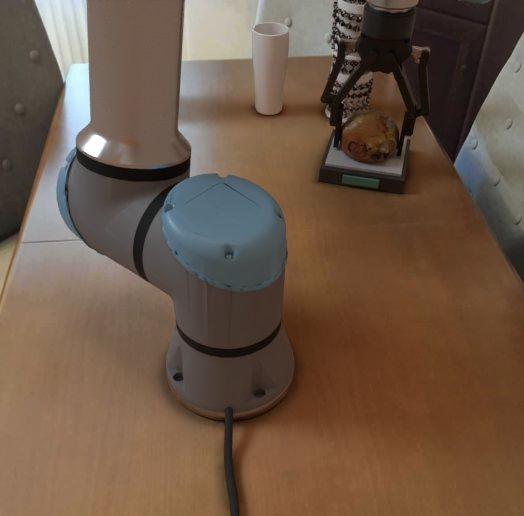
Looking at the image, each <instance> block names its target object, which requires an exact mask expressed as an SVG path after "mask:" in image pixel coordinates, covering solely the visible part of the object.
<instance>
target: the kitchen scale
mask: <svg viewBox="0 0 524 516" xmlns="http://www.w3.org/2000/svg"><path fill="white" fill-rule="evenodd" d="M334 135H335V128H333V129H332V131H331V134H330V137H329V139H328V143H327V145H326V149H325V151H324V154H323V157H322V160H321V163H320V167H319V173H318V182H320V183H326V184H333V185H338V186H346V187H353V188H359V189H360V188H361V189H366V190H373V191H380V192H387V193H394V194H399V195H402V194H403V191H404V186H405V183H406V175H407V168H408V161H409V155H410V149H411V141H412V140H411V138H409V139H408V136H405V139H404V144H403V148H402V153H401V157H400V156H396V155H397V149H396V151H395V152H394V153H393V155H391V156H390V157H389V158H387V159H386V160H383V161H381V162H363V161H357V160H354V159H352V158H350V157H349V156H347V155H346V154H345V153H344V152H343V150H342V148H341V145H340V141H339V145H338V148H335V147H333V144H334ZM399 139H400V135H399Z"/></svg>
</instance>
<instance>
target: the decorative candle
mask: <svg viewBox="0 0 524 516" xmlns="http://www.w3.org/2000/svg"><path fill="white" fill-rule="evenodd" d="M366 3H367V0H336V1H333V4H332V6H333V10H332V15H331V17H332V18H333V20H334V21H333V22H332V26H331V30H332V31H331V35H330V38H331V39H332V43H331V47H330V49H331V50H330V51H331V52H332V62H331V66H330V73H329V74H328V77H327V80H328V79H329V76H330V74H331V71H332V69H333V66H334V64H335V61H336V59H337V49H338V43H339V41H340V38H341V37H342V36H346V37H347V39H356V40H357V39H358V37H359V36H360V33H361V26H362V18H363V11H364V5H365V4H366ZM360 60H361V58H360V56H359V54H358V52H357V50H356V49H353V50H352V51H351V54H350V55H348V56H346V57H345V60H344V63H343V65H342V67H341V70H340V72H339V75H338V77H337V80H336V82H335V84H334V87H333V89H332V92H331V94H333V95H336V93H337V92H338V91H339V89H340V88H341V87H342V85H343V84H344V83H345V81H346V80H347V78H348V77H349V76H350V74H351V73H352V72H353V70H354V69H355V68H356V66H357V65H358V63H359V62H360ZM373 73H374V72H370V70H368V69H367V70H366V72H365V73H364V74H363V76H361V77H360V79H359V80H358V81H357V83H356V84H355V85H354V87H353V88H352V89H351V91H350V92H349V93H348V95H347V96H346V97H345V99H344V100H343V101H342V102H341V103H344V111H343V119H342V124H344V123H345V122H346V121H347V119H348V118H350V117H351V116H352V115H354V114H355V113H356V112H358V111H364V110H370V108H369V107H370V106H371V105H370V103H371V99H372V97H371V96H370V94H372V91H373V87H372V86H373V85H374V78H373ZM330 112H331V107H330V106H329V105H328V104H326V103H325V110H324V113H325V115H326V117H327V118H329V119H330Z"/></svg>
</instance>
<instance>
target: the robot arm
mask: <svg viewBox="0 0 524 516" xmlns="http://www.w3.org/2000/svg"><path fill="white" fill-rule="evenodd" d="M457 1H458V2H463V1H465V2H470V3H475V4H480V5H482V4H488V3H489V2H491V1H492V0H457ZM418 4H419V0H367V3H366V4H365V5H364V11H363V18H362V26H361V33H360V36H359V37H358V39H357V40H356V39H347V37H346V36H342V37H341V38H340V41H339V43H338V49H337V59H336V61H335V64H334V66H333V69H332V71H331V70H330V73H331V74H330V73H329V74H330V76H329V75H328V77H329V79H328V78H327V81H326V84H325V86H324V89H323V91H322V95H321V96H320V100H319V101H320V102H321V104H323V105H324V104H325V103H326V104H328V105H329V106H330V107H331V112H330V118H329V122H328V124H329V126H330V127H335V128H334V129H335V135H334V144H333V147H335V148H338V145H339V141H340V132H341V127H342V125H343V123H342V119H343V111H344V103H341V102H342V101H343V100H344V99H345V97H346V96H347V95H348V93H349V92H350V91H351V89H352V88H353V87H354V85H355V84H356V83H357V81H358V80H359V79H360V77H361V76H363V74H364V73H365V72H366V70H367V69H368V70H370V72H373V73H378V72H380V73H382V74H386V75H390V74H392V76H393V78H394V81H395V82H396V84H397V87H398V90H399V92H400V95H401V98H402V101H403V102H404V106H405V108H406V110H405V111H404V115H403V120H402V125H401V130H400V133H399V136H400V139H399V144H398V149H397V155H396V156H400V157H401V153H402V148H403V144H404V139H405V137H412V136H413V134H414V130H415V126H416V121H417V119H418V118H419V117H427V116H429V114H430V110H431V101H430V100H431V99H430V84H429V72H428V71H429V70H428V63H429V59H430V55H431V46H429V44H426V45H424V46H417V45H414V44H413V40H412V38H413V37H412V36H413V31H414V28H415V22H416V17H417V12H418V11H417V8H416V6H417V5H418ZM185 6H186V0H86V26H87V27H86V29H87V56H88V84H89V85H88V88H89V89H88V90H89V113H90V115H89V116H90V120H89V123H88V124H87V125H86V126H84V127H83V128H82V129H81V130H80V131H78V132H77V134H76V135H75V146H74V147H73V149H71V150H70V152H69V153H68V154H67V156H66V158H65V161H66V164H65V166H64V167H61V168H59V171H58V174H57V179H56V186H55V187H56V189H55V194H56V203H57V207H58V211H59V214H60V216H61V218H62V220H63V223H64V224H65V226H66V227H67V228H68V229H69V231H70V232H71V233H72V234H73V235H75V236H76V237H77V238H78V239H80V240H81V242H83V243H84V244H85V245H86V246H87V247H88V248H89V249H91V250H93V251H96V253H98V254H99V255H102V256H104V257H106V258H108V259H110V260H112V261H113V262H115V263H116V264H118V265H119V266H122V267H123V268H124V269H126V270H128V271H130V272H131V273H133V274H134V275H136V276H137V277H139V278H141V279H142V280H144V281H146V282H147V283H149V284H151V285H152V286H153V287H155V288H157V289H158V290H160V291H161V292H163V293H165V294H166V295H168V296H169V298H171V301H172V304H173V311H174V318H175V319H174V320H175V327H174V330H173V332H172V335H171V339H170V342H169V346H168V348H167V351H166V356H165V375H166V381H167V384H168V387H169V389H170V391H171V394H172V395H173V396H174V398H175V399H176V400H177V401H178V402H179V403H180V404H181V405H182V406H183V407H185V408H186V409H188V410H189V411H191V412H192V413H195V414H197V415H199V416H202V417H204V418H208V419H212V420H219V421H224V432H223V433H224V437H223V458H224V459H223V462H224V463H223V464H224V475H225V481H226V488H227V494H228V499H229V500H228V501H229V508H230V509H229V511H230V512H229V513H230V516H240V513H241V512H240V503H239V496H238V490H237V485H236V484H237V483H236V479H235V477H236V476H235V470H234V462H233V461H234V460H233V438H234V437H233V435H234V434H233V433H234V432H233V430H234V421H240V420H247V419H250V418H251V419H252V418H253V417H257V416H259V415H262V414H264V413H266V412H268V411H269V410H271V409H272V408H275V406H277V405H278V404H279V403H280V402H281V401H282V400H283V399H284V398H285V397H286V395H287V394H288V392H289V391H290V389H291V387H292V383H293V382H294V381H293V380H294V376H295V375H294V374H295V357H294V350H293V347H292V345H291V342H290V340H289V337H288V334H287V331H286V329H285V327H284V324H283V322H282V321H283V307H284V291H285V280H286V279H285V277H286V266H287V263H288V257H289V256H288V255H289V249H288V240H287V224H286V219H285V215H284V212H283V210H282V208H281V206H280V204H279V203H278V201H277V200H276V199H275V197H273V195H271V193H270V192H268V191H267V190H266V189H264V187H262V186H261V185H259V184H257V183H255V182H253V181H251V180H249V179H247V178H245V177H241V176H238V175H233V174H227V175H226V176H224V177H222V176H221V175H220V174H219V173H211V172H210V173H202V174H197V175H194V176H191V162H192V161H191V160H192V146H191V145H192V144H191V143H190V141H189V140H188V139H187V138H186V137H185V136H184V135H183V134H182V132H181V131H180V130H179V116H180V115H179V114H180V98H181V97H180V96H181V81H182V80H181V79H182V63H183V46H184V45H183V43H184V29H185V28H184V27H185V25H184V24H185V11H186V10H185V8H186V7H185ZM353 49H356V50H357V52H358V54H359V56H360V58H361V60H360V62H359V63H358V65H357V66H356V68H355V69H354V70H353V72H352V73H351V74H350V76H349V77H348V78H347V80H346V81H345V83H344V84H343V85H342V87H341V88H340V89H339V91H338V92H337V93H336V95H333V94H331V92H332V89H333V87H334V84H335V82H336V80H337V77H338V75H339V72H340V70H341V67H342V65H343V63H344V60H345V57H346V56H348V55H350V54H351V51H352V50H353ZM410 56H412V57H413V58H414V59H413V61H414V63H415V64H417V65H418V67H417V76H418V87H419V88H418V89H419V101H420V102H419V103H420V104H417V101H416V98H415V96H414V93H413V89H412V87H411V84H410V82H409V79H408V76H407V74H406V70H405V69H406V68H405V66H404V62H406V61H407V59H409V57H410Z"/></svg>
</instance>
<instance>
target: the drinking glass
mask: <svg viewBox="0 0 524 516" xmlns="http://www.w3.org/2000/svg"><path fill="white" fill-rule="evenodd" d="M289 51H290V28H289V27H288V26H287V25H286V24H283V23H280V22H274V21H266V22H260V23H256V24H255V25H253V27H252V29H251V58H252V59H251V60H252V61H251V62H252V73H253V85H254V88H253V89H254V108H255V111H257V113H259V114H261V115H264V116H273V115H274V116H275V115H277V114H280V113H281V111H282V110H283V105H284V104H283V101H284V92H285V84H286V76H287V69H288V60H289Z"/></svg>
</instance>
